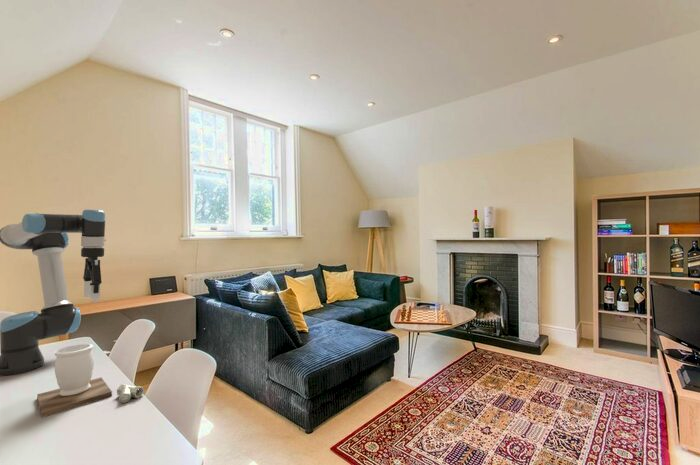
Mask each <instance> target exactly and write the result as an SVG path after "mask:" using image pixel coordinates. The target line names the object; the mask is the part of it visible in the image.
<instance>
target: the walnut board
mask: <svg viewBox="0 0 700 465" xmlns="http://www.w3.org/2000/svg"><path fill="white" fill-rule="evenodd" d="M89 384H90V385H91V387H90V388H89V389H88V390H86V391H84V392H81V393H78V394H75V395H70V396H61V395H60V394H59V393H60V391H61V389H60V387H59V388H56V389H52V390H49V391H44V392H42V393H38V394H37V398H36V399H37V403H38V407H39V412H40V413H39V414H40V417H41V418H44V417H48V416H51V415H53V414H57V413H61V412H64V411H67V410H71V409H73V408H77V407H81V406H84V405H87V404H89V403H93V402H96V401H100V400H103V399H106V398H110V397H112V396H113V391H112V390H111V388H110V387H109V386H108V384H107V382H105V380H104V379H103V377H97V378H94V379H91V380H90V382H89Z"/></svg>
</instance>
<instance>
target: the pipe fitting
mask: <svg viewBox="0 0 700 465" xmlns="http://www.w3.org/2000/svg"><path fill="white" fill-rule="evenodd" d="M138 389H139V390H138ZM144 389H145V388H144V386H136V385H129V384H120V385H119V386H118V388H117V389H116V394H117V396H119V397H118V398H119V399H118V401H119V403H122V404H124V403H129V401H130V400H131V398H134V399H135V398H136V399H140V398H141V397H142V396H143V395H144V392H145V390H144Z"/></svg>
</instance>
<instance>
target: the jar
mask: <svg viewBox="0 0 700 465" xmlns="http://www.w3.org/2000/svg"><path fill="white" fill-rule="evenodd" d="M93 349H94V344H93V343H83V344H82V343H80V344H74V345H69V346H64V347H61V348H59V349H57V350H55V351H54V356H55V357H56V359H55V360H54V361H55V362H54V375H55V378H56V382H57V386H58V387H59V388H60V389H61V391H60V393H59V394H60V395H61V396H70V395H75V394H78V393H81V392H84V391H86V390H88V389H89V388H90V387H91V385H90V384H89V382H90V380H92V377H93V370H94V366H95V358H94V353H93V352H94V351H93Z"/></svg>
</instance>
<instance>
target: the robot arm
mask: <svg viewBox="0 0 700 465" xmlns="http://www.w3.org/2000/svg"><path fill="white" fill-rule="evenodd" d="M106 220H107V219H106V213H105V211H104V210H102V209H101V210H100V209H84V210H82V213H81V214H55V213H54V214H53V213H39V212H34V213H25V214H24V215H23V217H22V221H21V222H18V223H10V224H7V225H5V226H3V227H2V228H1V229H0V243H1V244H2V245H3V246H4V247H8V248H11V249H15V250H31V254H33V255H34V256H36V257H37V262H38V269H39V277H40V283H41V290H42V297H43V303H44V305H43V307H41V309H40V313H39V312H38V311H36V310H31V311H30V310H29V311H25V312H21V313H20V312H19V313H16V314H12V315H9V316H7V317H5V318H3V319H2V320H1V321H0V375H5V376H11V375H18V374H22V373H26V372H30V371H33V370H36V369H39V368H40V366H41V367H42V366H44V365H45V358H44V356H43V354H42V352H41V349H40V348H39V341H40V340H45V339H51V338H54V337H55V338H56V337H59V336H60V337H61V336H65V335H68V334H72V333H75V332H76V331H77V330H78V328H79V327H80V325H81V320H82V317H81V316H82V315H81V314H82V313H81V310H80V308H79V307H77V306H75V307H74V303H73V302H71V301H70V300H69V295H68V289H67V283H66V282H67V281H66V276H65V269H64V264H63V263H64V262H63V257H62V253H64V251H66V249H65V248H67V247H68V245H69V234H68V233H70V234H71V233H72V234H73V233H74V234H76V233H78V234H81V238H80V239H81V242H80V244H81V245H80V246H81V250H80V256H81V257H82V258H84V260H85V261H84V270H83V277H82V279H83V281H84V283H83V298H89V297H90V302H91V303H93V302H100V294H101V292H100V291H101V284H102V283H103V282H102V271H101V260H100V259H98V258H102V257H104V255H105V248H104V246H105V243H106V242H107V239H105V233H106V232H105V231H106ZM43 364H44V365H43ZM35 368H36V369H35Z"/></svg>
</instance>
